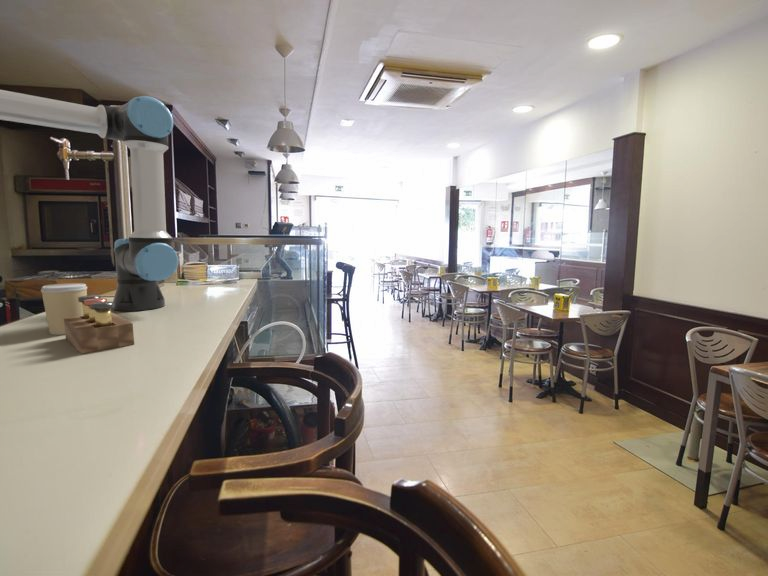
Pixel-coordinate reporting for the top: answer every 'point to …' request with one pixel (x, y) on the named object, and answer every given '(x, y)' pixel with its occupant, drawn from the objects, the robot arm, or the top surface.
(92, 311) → the plunger red
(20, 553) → the top surface
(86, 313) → the plunger
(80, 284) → the coffee cup
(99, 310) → the plunger
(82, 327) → the walnut block
